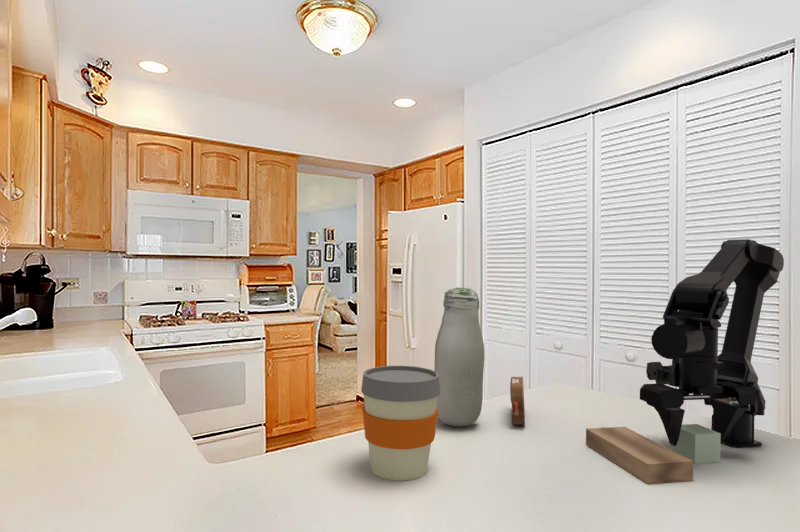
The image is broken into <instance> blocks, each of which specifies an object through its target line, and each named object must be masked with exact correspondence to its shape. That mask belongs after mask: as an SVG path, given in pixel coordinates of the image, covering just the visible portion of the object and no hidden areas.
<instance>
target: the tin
mask: <svg viewBox="0 0 800 532" xmlns="http://www.w3.org/2000/svg"><path fill="white" fill-rule="evenodd" d="M509 387H510V388H509V391H510V395H509V396H510V403H511V424H512V425H515V426H524V427H525V425H526V415H525V414H526V413H525V411H526V410H525V398H524V397H525V393H524V376H511V377H510V384H509Z"/></svg>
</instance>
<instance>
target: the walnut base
mask: <svg viewBox="0 0 800 532" xmlns="http://www.w3.org/2000/svg"><path fill="white" fill-rule="evenodd" d="M585 446H587V447H588V448H590V449H592V450H593V451H595V452H596V453H598V454H600V455H601V456H602V457H604V458H605V459H607V460H609V461H610V462H612V463H613V464H615V465H616V466H618V467H620V468H622V469H623V470H624V471H626V472H628V473H629V474H631V475H632V476H634V477H636V478H637V479H639V480H640V481H642V482H643V483H645V484H646V485H653V484H664V483H665V484H667V483H680V482H690V481H691V482H693V480H694V464H693V461H692V460H690V459H688V458H686V457H684V456H682V455H680V454H678V453H676V452H674V451H672V449H670V448H668V447H666V446H664V445H662V444H660V443H658V442H656V441H654V440H652V439H650V438H649V437H646V436H644V435H643V434H640V433H639V432H636V431H634V430H632V429H631V428H629V427H626V426H611V427H595V428H593V427H592V428H591V427H590V428H588V427H587V428H585Z"/></svg>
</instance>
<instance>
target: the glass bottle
mask: <svg viewBox="0 0 800 532" xmlns="http://www.w3.org/2000/svg"><path fill="white" fill-rule="evenodd" d="M478 295H479V294H478V293H477V291H475V290H474V289H473V288H471V287H470V288H469V287H454V288H451V289H448V290H447V291H446V292H444V297H443V308H444V310H443V315H442V317H441V324H440V327H439V328H438V332H437V335H436V339H435V345H434V370H433V371H436V372H437V373H438V374H439V383H440V395H439V396H438V399H437V406H436V408H437V409H438V417H437V419H439V420H440V421H441V422H442V423H443V424H445V425H447V426H451V427H459V428H460V427H465V426H469V425H472V424H474V423H475V422H476V421H477V420H478V419H479V417H480V415H481V412H482V407H483V393H484V392H483V389H484V387H483V386H484V371H485V359H486V358H485V357H486V356H485V344H484V338H483V335H482V329H481V325H480V319H479V309H480V299H479V296H478Z"/></svg>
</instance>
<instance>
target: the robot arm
mask: <svg viewBox="0 0 800 532" xmlns="http://www.w3.org/2000/svg"><path fill="white" fill-rule="evenodd" d="M784 261H785V259H784V256H783V254H782V253H781V252H780V251H779V250H777V248H775V247H771V246H769V245H764V244H761V243H759V242H757V241H756V240H754V239H753V240H752V239H750V238H746V239H744V238H743V239H742V238H741V239H727V240H724V241H722V243H721V246H720V249H719V251H717V253H716V254H715V255H714V256H713V257H712V258H711V260H710V261H709V262H708V263H707V264H706V266H705V267H704V268H703V269H702V270H701V271H700V272H699V273H696V274H693V275H690V276H686V277H685V278H684V279H682V280H681V281H679V282H678V283H677V284H676V286H675V288H674V289H673V291H672V292H671V295H670V297H669V300H668V302H667V304H666V307H665V310H664V311H663V315H662V319H663V324H661V325H658V326H657V327H656V328H655V329H654V331H653V333H652V335H651V339H650V342H651V345H652V348H653V350H654V351H655V352H656V353H657V355H659V356H660V357H661V358H664V359H666V360H671V365H663V364H662V362H661V361H651V362H647V363H646V377H647V379H648V380H649V381H655V383H643V385H642V386H641V387H640V389H639V400H641V401H643V402H646V405H648V406H650V407H653V408H654V410H655V411H656V412H657V413H658V415H659V418H660V420H661V423H662V425H663V428H664V431H665V434H666V436H667V439H668V443H669V444H670V446H672V445H673V446H676V445H677V442H678V440H679V435H680V431H681V426H682V425H683V420H684V415H685V409H684V408H682V406H683V405H684V403H685V401H701V400H703V403H704V405H705V406H710V407H712V415H711V428H710V429H711V430H713V431H716V432H718V433H721V444H725V445H728V446H730V447H733V448H739V447H740V448H741V447H742V448H743V447H753V446H754V447H756V446H757V447H759V446H762V444H763V442H761V441H759V440H756V439H755V417H756V416H765V410H766V400H765V397H764V395H763V392H762V389H761V387H760V386H759V384H758V382H759V377H758V374H757V372H756V370H755V369H754V367H753V365H752V362H751V361H752V356H753V351H754V347H755V341H756V340H755V339H756V337H757V332H758V331H757V330H758V326H759V321H760V317H761V316H760V315H761V313H762V312H761V310H762V306H763V302H764V296H765V294H766V292H768V291H769V290H770V289H771V288H772V287H774V285H776V283H777V282H778V280H779V279H778V278H779V275H780V273H781V272H782V271H783V269H784V264H785V263H784ZM733 282H734V284H735V288H734V289H735V290H734V294H733V297H732V298H733V299H732V303H731V308H730V311H729V316H728V321H727V325H726V329H725V336H724V339H723V344H722V349H721V353H720V354H718V353H719V352H718V351H719V349H718V348H719V346H718V345H719V329H720V328H721V327H722V323H721V322H720V320H722V317H723V315H724V313H725V311H726V309H727V307H728V305H729V302H730V298H729V295H728V292H727V291H728V289H729V287H730V286H731V285H732V284H733Z"/></svg>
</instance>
